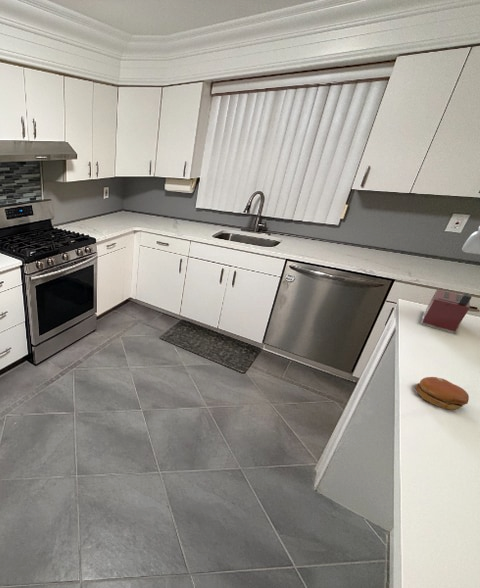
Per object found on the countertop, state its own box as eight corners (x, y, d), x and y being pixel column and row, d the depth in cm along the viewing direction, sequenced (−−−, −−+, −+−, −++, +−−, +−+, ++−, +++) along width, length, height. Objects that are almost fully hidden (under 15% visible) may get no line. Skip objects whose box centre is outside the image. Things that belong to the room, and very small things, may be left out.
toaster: (423, 312, 132) (437, 288, 127) (455, 320, 125) (470, 296, 121) (420, 323, 122) (434, 299, 118) (454, 333, 116) (470, 307, 112)
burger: (433, 409, 81) (442, 395, 79) (405, 385, 90) (412, 372, 88) (475, 413, 80) (485, 399, 78) (442, 388, 89) (450, 375, 87)
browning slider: (458, 301, 115) (463, 293, 114) (466, 303, 114) (471, 295, 113) (458, 303, 114) (463, 295, 113) (466, 305, 113) (471, 297, 111)
